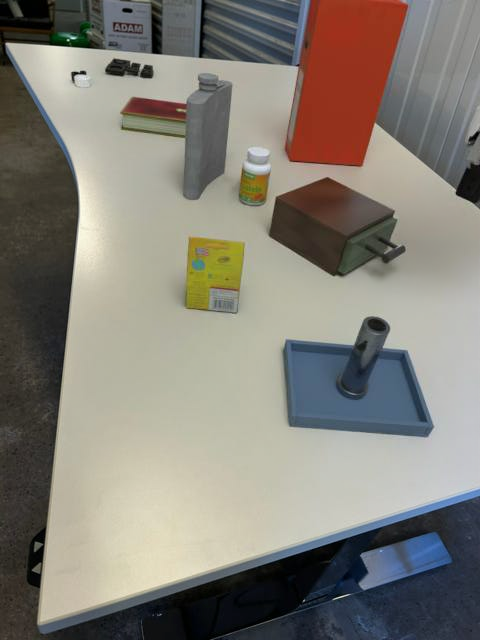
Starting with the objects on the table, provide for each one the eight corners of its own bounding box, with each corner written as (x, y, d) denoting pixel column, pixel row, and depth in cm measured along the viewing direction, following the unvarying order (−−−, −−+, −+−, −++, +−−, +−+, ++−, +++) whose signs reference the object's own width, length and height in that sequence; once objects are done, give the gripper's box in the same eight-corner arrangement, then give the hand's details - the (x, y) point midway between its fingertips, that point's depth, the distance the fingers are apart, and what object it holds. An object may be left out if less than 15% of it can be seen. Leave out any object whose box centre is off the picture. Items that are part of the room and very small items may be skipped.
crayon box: (238, 300, 70) (247, 231, 62) (237, 314, 68) (247, 244, 60) (187, 295, 70) (190, 225, 62) (184, 308, 67) (188, 237, 60)
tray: (402, 360, 64) (407, 350, 63) (427, 437, 55) (434, 426, 54) (283, 349, 63) (285, 339, 62) (289, 426, 54) (292, 415, 53)
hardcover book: (132, 112, 121) (132, 94, 119) (215, 123, 122) (216, 106, 119) (121, 129, 112) (120, 110, 110) (210, 141, 113) (211, 123, 110)
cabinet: (381, 248, 85) (395, 210, 80) (334, 276, 77) (346, 236, 72) (318, 213, 92) (327, 176, 87) (268, 235, 84) (275, 196, 79)
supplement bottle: (236, 203, 92) (242, 154, 85) (240, 191, 96) (246, 143, 89) (264, 208, 91) (271, 159, 85) (267, 195, 96) (275, 148, 89)
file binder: (284, 147, 115) (312, -13, 94) (353, 152, 118) (395, -2, 96) (289, 161, 109) (321, -6, 88) (362, 166, 112) (409, 5, 91)
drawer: (410, 261, 81) (422, 231, 78) (367, 289, 74) (379, 258, 70) (326, 215, 90) (334, 187, 86) (281, 236, 83) (287, 206, 79)
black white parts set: (68, 88, 131) (67, 75, 129) (91, 60, 149) (90, 48, 146) (141, 100, 133) (141, 87, 130) (156, 70, 150) (156, 58, 148)
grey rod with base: (375, 386, 59) (404, 324, 53) (351, 408, 56) (378, 345, 50) (350, 369, 61) (375, 306, 54) (326, 388, 58) (348, 325, 51)
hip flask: (195, 201, 91) (201, 89, 77) (176, 195, 91) (178, 83, 78) (226, 170, 102) (236, 68, 89) (209, 165, 103) (216, 63, 90)
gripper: (550, 61, 46) (469, 226, 59) (594, 49, 55) (515, 195, 67) (477, 41, 50) (415, 200, 62) (529, 33, 59) (466, 174, 71)
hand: (467, 197), depth 65 cm, fingers closed
